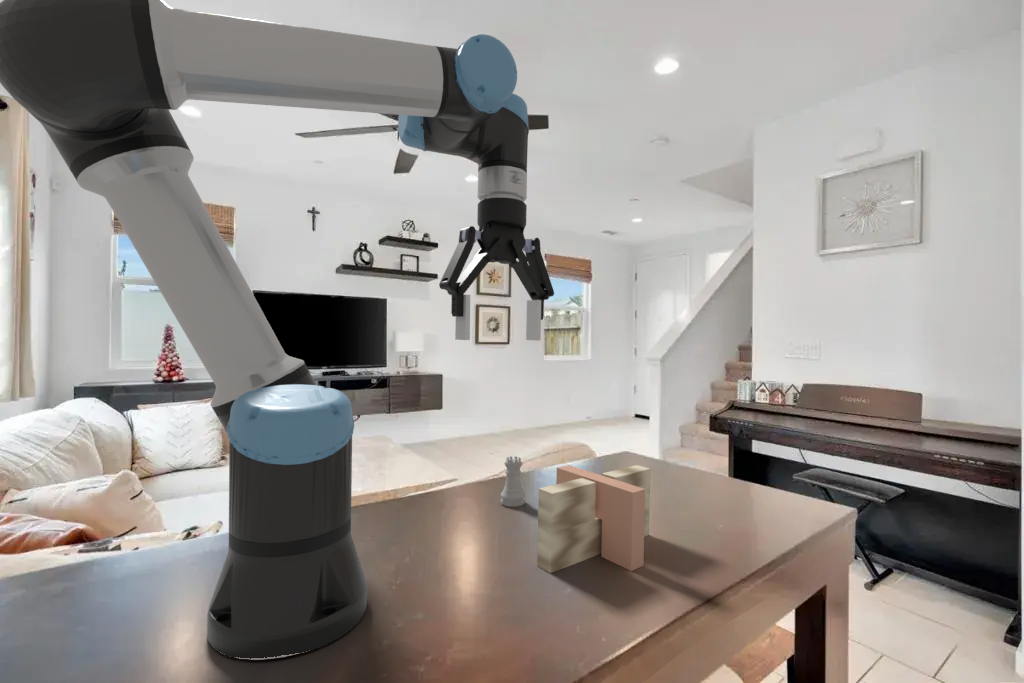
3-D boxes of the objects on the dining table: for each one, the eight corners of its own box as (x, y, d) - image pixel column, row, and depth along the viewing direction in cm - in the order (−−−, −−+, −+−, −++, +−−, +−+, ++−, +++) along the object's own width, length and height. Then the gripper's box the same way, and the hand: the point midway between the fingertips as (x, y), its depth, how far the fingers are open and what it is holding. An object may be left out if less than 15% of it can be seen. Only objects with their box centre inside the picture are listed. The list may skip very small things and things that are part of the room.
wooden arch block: (643, 565, 64) (645, 489, 64) (631, 571, 63) (633, 492, 63) (567, 530, 75) (568, 465, 75) (555, 534, 74) (556, 467, 74)
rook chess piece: (530, 502, 88) (531, 457, 88) (516, 509, 84) (517, 462, 84) (508, 497, 90) (509, 453, 90) (494, 504, 86) (495, 458, 86)
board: (550, 573, 62) (551, 493, 62) (537, 565, 64) (538, 488, 64) (649, 535, 74) (650, 468, 74) (635, 529, 76) (636, 465, 76)
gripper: (443, 179, 66) (441, 340, 66) (577, 210, 81) (574, 340, 81) (417, 191, 71) (415, 339, 72) (546, 218, 87) (543, 339, 87)
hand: (499, 340), depth 77 cm, fingers open, 13 cm apart
